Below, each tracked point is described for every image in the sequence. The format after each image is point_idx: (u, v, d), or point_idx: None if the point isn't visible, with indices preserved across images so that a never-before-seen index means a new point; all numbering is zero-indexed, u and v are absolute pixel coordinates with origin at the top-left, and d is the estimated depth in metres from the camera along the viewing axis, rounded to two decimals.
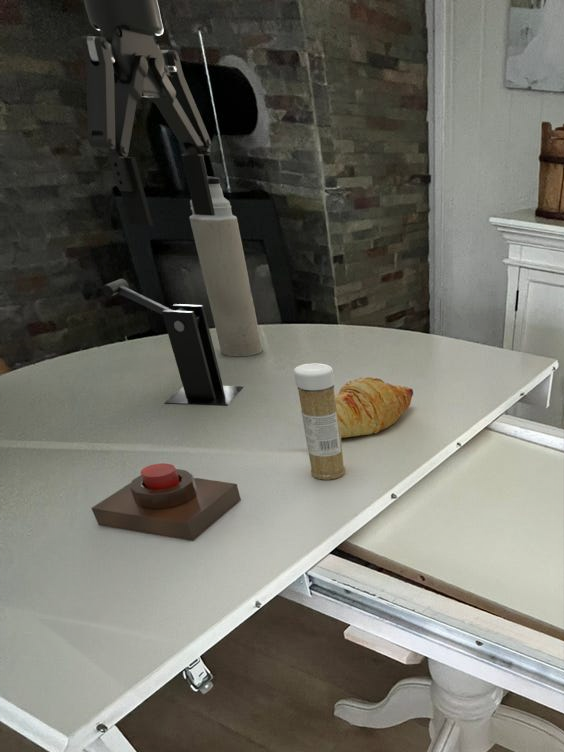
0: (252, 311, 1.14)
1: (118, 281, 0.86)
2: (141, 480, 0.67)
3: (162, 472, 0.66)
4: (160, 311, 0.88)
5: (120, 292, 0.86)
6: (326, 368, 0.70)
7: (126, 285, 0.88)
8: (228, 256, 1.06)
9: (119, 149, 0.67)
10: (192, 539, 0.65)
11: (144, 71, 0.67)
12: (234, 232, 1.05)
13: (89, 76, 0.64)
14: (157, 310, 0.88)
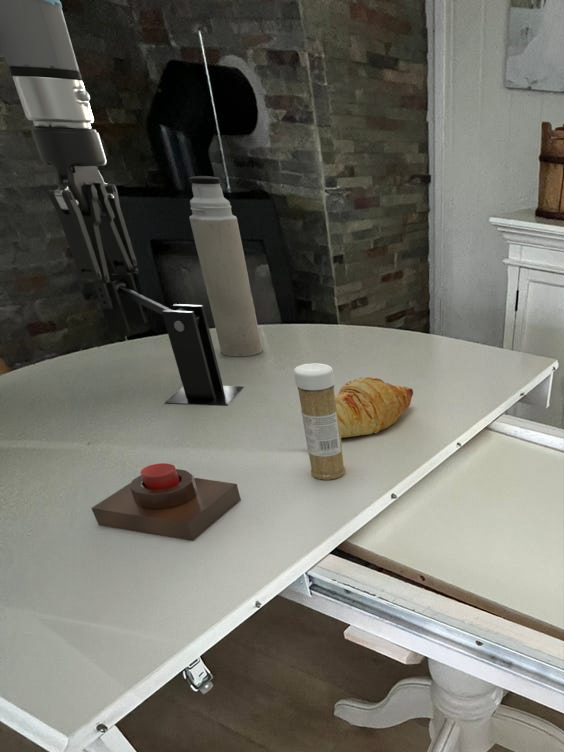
0: (252, 311, 1.14)
1: (118, 281, 0.86)
2: (141, 480, 0.67)
3: (162, 472, 0.66)
4: (160, 311, 0.88)
5: (120, 292, 0.86)
6: (326, 368, 0.70)
7: (126, 285, 0.88)
8: (228, 256, 1.06)
9: (104, 280, 0.82)
10: (192, 539, 0.65)
11: (94, 197, 0.78)
12: (234, 232, 1.05)
13: (64, 223, 0.76)
14: (157, 310, 0.88)
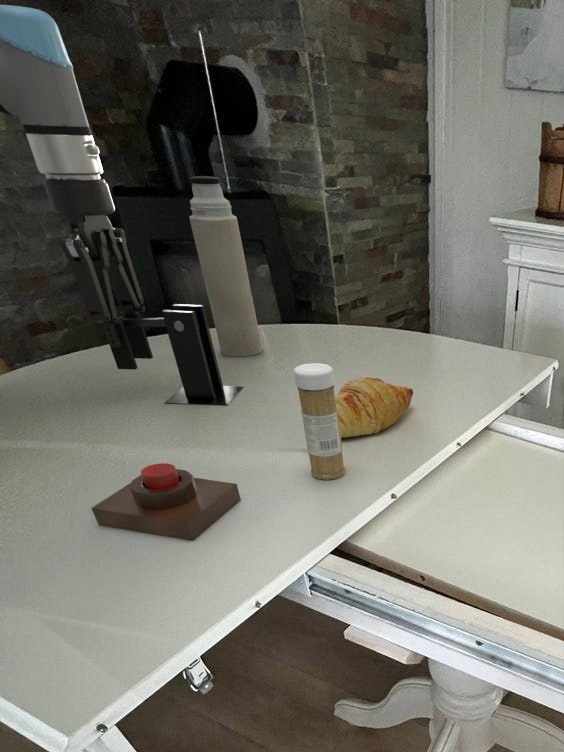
0: (252, 311, 1.14)
1: (121, 316, 0.89)
2: (141, 480, 0.67)
3: (162, 472, 0.66)
4: (162, 323, 0.89)
5: (125, 324, 0.89)
6: (326, 368, 0.70)
7: (130, 317, 0.91)
8: (228, 256, 1.06)
9: (113, 321, 0.85)
10: (192, 539, 0.65)
11: (103, 243, 0.81)
12: (234, 232, 1.05)
13: (75, 270, 0.80)
14: (159, 324, 0.89)
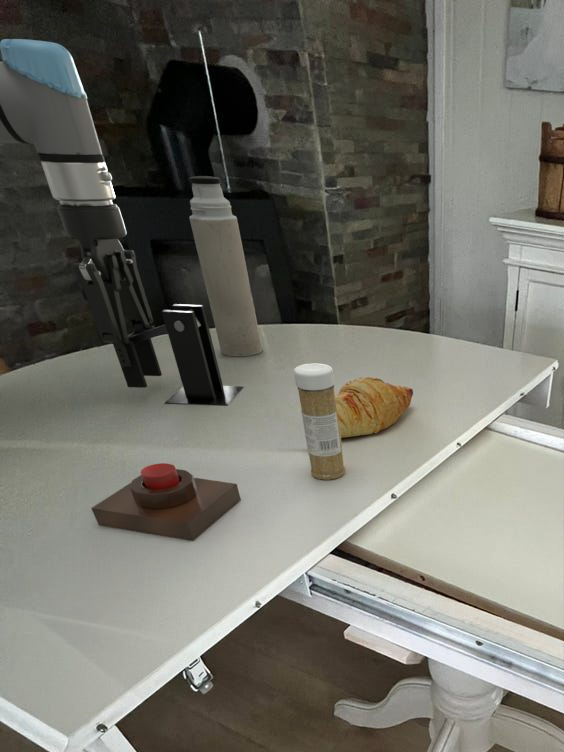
0: (252, 311, 1.14)
1: None
2: (141, 480, 0.67)
3: (162, 472, 0.66)
4: (165, 330, 0.90)
5: (134, 341, 0.91)
6: (326, 368, 0.70)
7: None
8: (228, 256, 1.06)
9: (124, 341, 0.87)
10: (192, 539, 0.65)
11: (115, 266, 0.83)
12: (234, 232, 1.05)
13: (87, 292, 0.81)
14: (163, 331, 0.90)
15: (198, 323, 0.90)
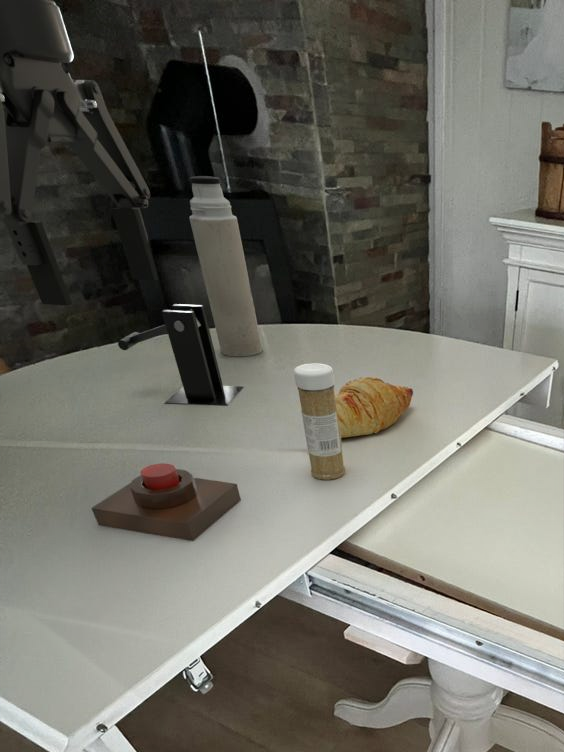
0: (252, 311, 1.14)
1: None
2: (141, 480, 0.67)
3: (162, 472, 0.66)
4: (165, 330, 0.90)
5: (134, 341, 0.91)
6: (326, 368, 0.70)
7: None
8: (228, 256, 1.06)
9: (18, 213, 0.51)
10: (192, 539, 0.65)
11: (49, 110, 0.51)
12: (234, 232, 1.05)
13: None
14: (163, 331, 0.90)
15: (198, 323, 0.90)
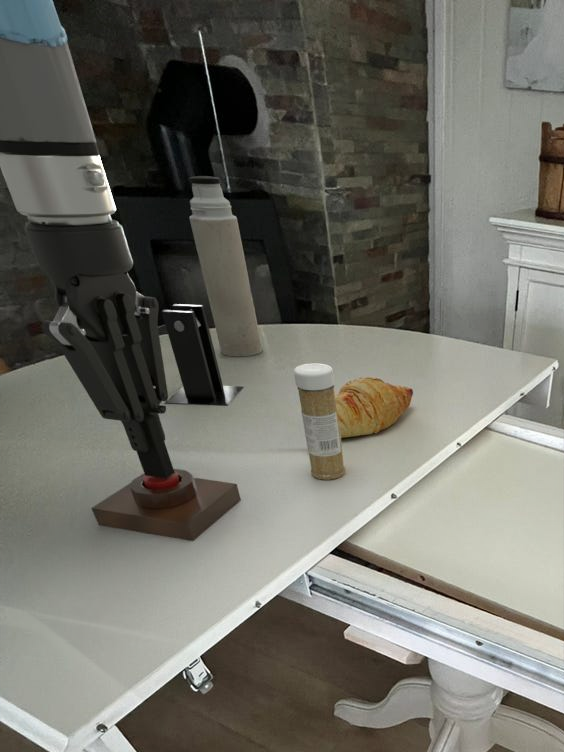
0: (252, 311, 1.14)
1: None
2: (141, 480, 0.67)
3: (164, 478, 0.66)
4: (165, 330, 0.90)
5: None
6: (326, 368, 0.70)
7: None
8: (228, 256, 1.06)
9: (136, 419, 0.60)
10: (192, 539, 0.65)
11: (109, 316, 0.54)
12: (234, 232, 1.05)
13: (71, 360, 0.54)
14: (163, 331, 0.90)
15: (198, 323, 0.90)
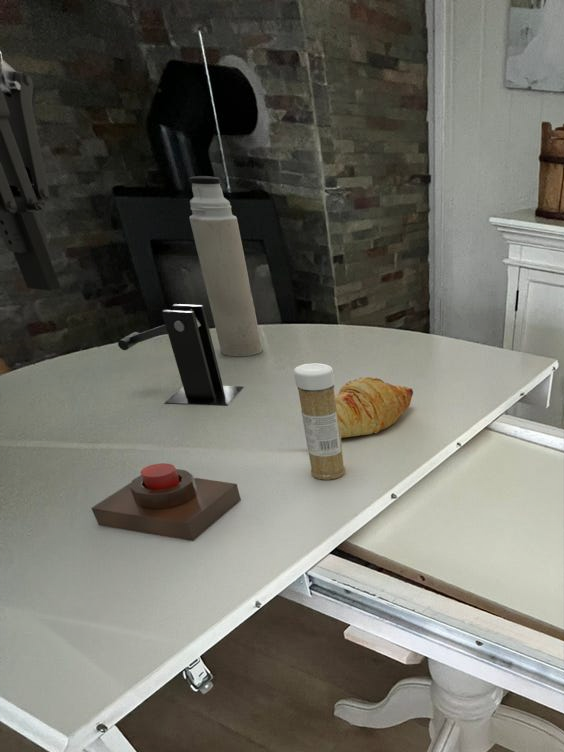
0: (252, 311, 1.14)
1: None
2: (141, 480, 0.67)
3: (162, 472, 0.66)
4: (165, 330, 0.90)
5: (134, 341, 0.91)
6: (326, 368, 0.70)
7: None
8: (228, 256, 1.06)
9: (7, 209, 0.55)
10: (192, 539, 0.65)
11: None
12: (234, 232, 1.05)
13: None
14: (163, 331, 0.90)
15: (198, 323, 0.90)
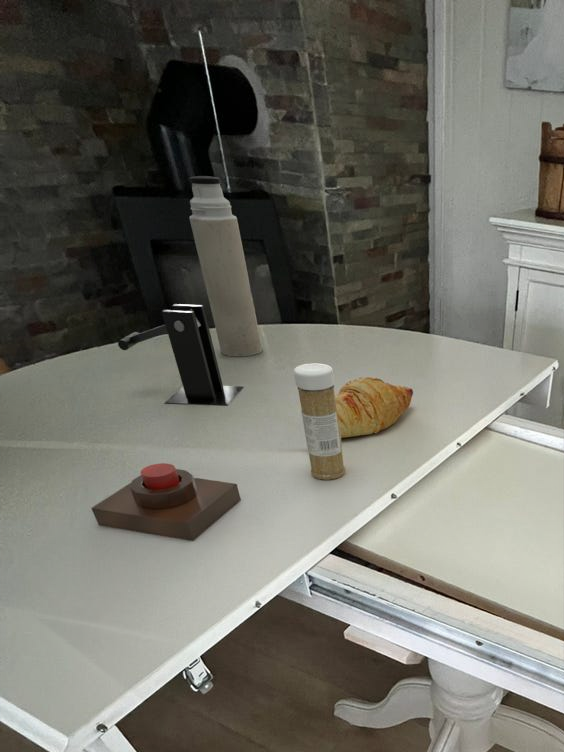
0: (252, 311, 1.14)
1: None
2: (141, 480, 0.67)
3: (162, 472, 0.66)
4: (165, 330, 0.90)
5: (134, 341, 0.91)
6: (326, 368, 0.70)
7: None
8: (228, 256, 1.06)
9: None
10: (192, 539, 0.65)
11: None
12: (234, 232, 1.05)
13: None
14: (163, 331, 0.90)
15: (198, 323, 0.90)
